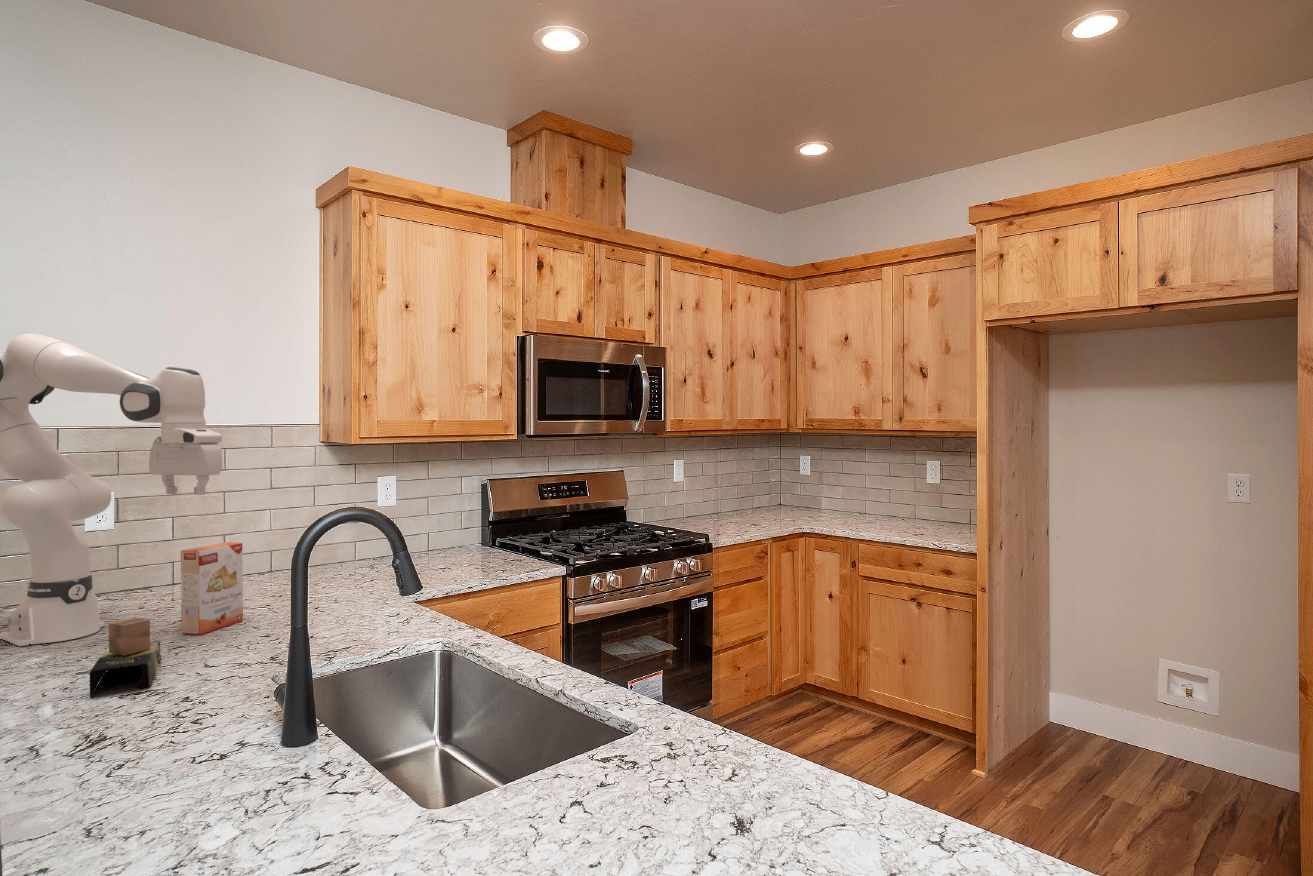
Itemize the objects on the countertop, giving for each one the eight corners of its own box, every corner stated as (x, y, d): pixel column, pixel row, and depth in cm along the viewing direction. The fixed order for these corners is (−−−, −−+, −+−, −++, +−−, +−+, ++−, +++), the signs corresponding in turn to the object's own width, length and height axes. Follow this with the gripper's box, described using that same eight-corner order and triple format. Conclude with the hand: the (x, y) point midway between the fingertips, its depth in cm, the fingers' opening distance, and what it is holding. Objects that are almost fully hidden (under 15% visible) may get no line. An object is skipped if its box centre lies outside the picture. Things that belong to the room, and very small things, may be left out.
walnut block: (109, 652, 145) (108, 623, 145) (135, 646, 150) (135, 617, 150) (123, 655, 143) (123, 625, 143) (150, 648, 147) (149, 619, 147)
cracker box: (201, 635, 175) (199, 550, 175) (180, 634, 177) (178, 550, 176) (245, 620, 189) (243, 541, 189) (225, 619, 190) (223, 541, 190)
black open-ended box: (106, 670, 152) (105, 641, 152) (162, 662, 157) (162, 634, 156) (87, 702, 134) (86, 670, 134) (150, 693, 139) (150, 661, 139)
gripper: (140, 436, 171) (141, 494, 171) (201, 435, 163) (203, 496, 164) (166, 436, 176) (168, 492, 177) (227, 435, 169) (228, 493, 169)
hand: (185, 494), depth 170 cm, fingers open, 8 cm apart
